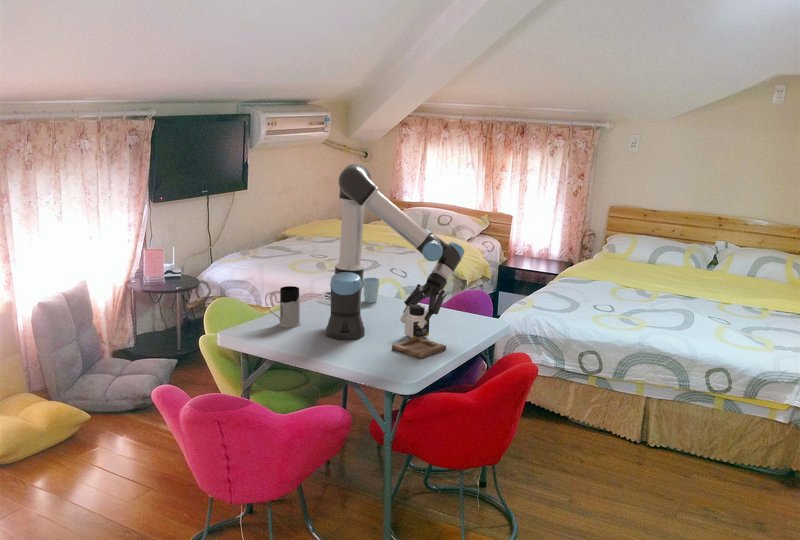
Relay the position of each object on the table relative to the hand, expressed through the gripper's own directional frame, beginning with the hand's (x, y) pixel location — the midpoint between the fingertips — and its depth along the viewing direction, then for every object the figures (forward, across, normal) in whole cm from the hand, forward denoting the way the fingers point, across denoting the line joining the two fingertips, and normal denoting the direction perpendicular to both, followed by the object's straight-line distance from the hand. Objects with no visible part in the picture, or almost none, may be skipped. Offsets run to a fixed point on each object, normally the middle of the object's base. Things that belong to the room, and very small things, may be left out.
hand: (410, 324), depth 269 cm
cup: (-15, +49, -24) cm, 56 cm away
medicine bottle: (+1, 0, -6) cm, 6 cm away
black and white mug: (+22, +47, +13) cm, 53 cm away
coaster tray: (+10, -11, +1) cm, 15 cm away
